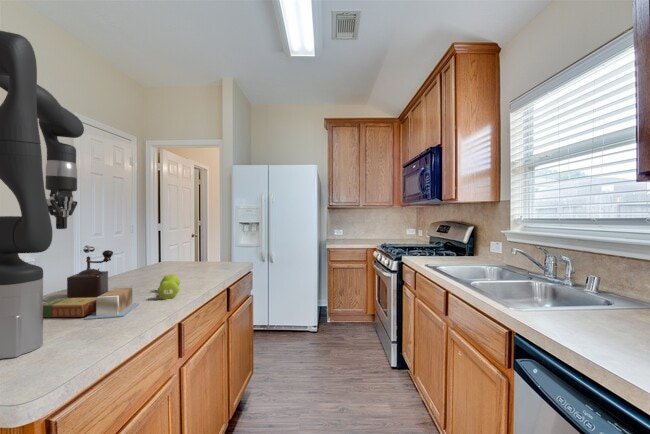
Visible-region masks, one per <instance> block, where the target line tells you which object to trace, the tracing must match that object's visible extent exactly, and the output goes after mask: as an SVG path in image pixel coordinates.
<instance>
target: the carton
mask: <svg viewBox="0 0 650 434" xmlns="http://www.w3.org/2000/svg"><path fill="white" fill-rule="evenodd" d="M96 298H97V297H90V298H67V297H57V298H55V299H52V300H49V301H46V302H43V318H70V317H71V318H74V317H75V318H80V317H81V318H82V317H83V318H84V317H86V316H89V315H90V314H92V313H94V312H96Z"/></svg>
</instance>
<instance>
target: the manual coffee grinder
mask: <svg viewBox="0 0 650 434" xmlns="http://www.w3.org/2000/svg"><path fill="white" fill-rule="evenodd" d="M101 255H102V256H103V259H102V260H91V256H87V257H86V258H85V259H86V261H85V262H86V269H84V270H82V271H80V272H78V273H75V274H73V275H70V276H68V277H67V278H66V285H67V286H66V298H90V297H99V296H100V295H102V294H104V293H106V292H108V291H109V271H108V270H104V271H103V270H100V268H97V269H95V268H91V264H102V263H108V262H111V261H112V259H111V257H112V256H113V255H114V251H113V250H108V249H107V250H104V251H103V252H102V254H101Z"/></svg>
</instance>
